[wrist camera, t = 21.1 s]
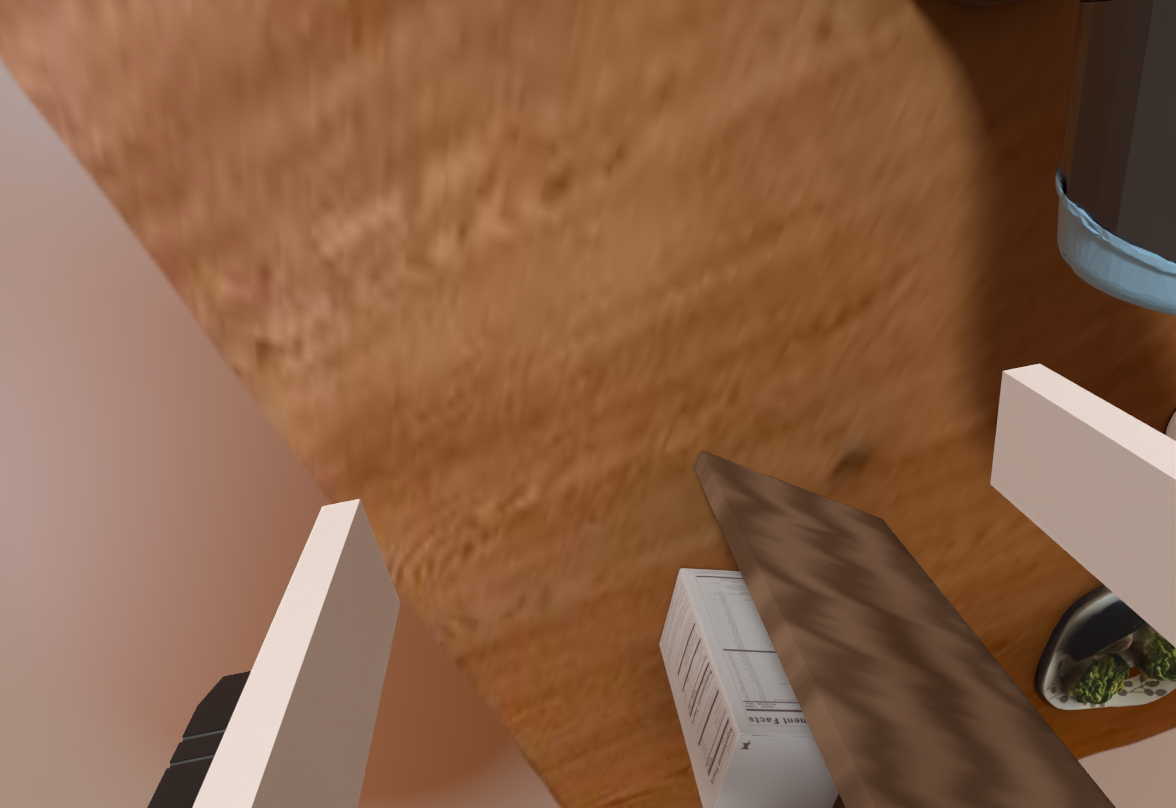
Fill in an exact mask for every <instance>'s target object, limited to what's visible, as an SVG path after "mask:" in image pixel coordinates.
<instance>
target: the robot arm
mask: <svg viewBox="0 0 1176 808" xmlns="http://www.w3.org/2000/svg"><path fill="white" fill-rule="evenodd" d="M950 1H953V2H956V3H960V4H965V5H974V6H985V5H996V4H1004V3H1011V2H1018V1H1022V0H950ZM1055 186H1056V191H1057V194H1058V196H1059V209H1058V227H1057V243H1058V247H1059V251H1060V253H1061V256H1062V257H1063V259H1064V260H1065V261H1066V262H1067V263H1068V264H1069V265H1070V266H1071V267H1072V270H1073V272H1074V273H1075V274H1076V275H1077V276H1078V277H1080V278H1081V279H1082V280H1084V281H1085V282H1087V283H1088V284H1089V285H1091V286H1093V287H1094V288H1096V289H1098V290H1100V291H1102V292H1104V293H1106V294H1108V295H1110V296H1112V297H1115V298H1117V299H1120V300H1122V301H1125V302H1128V303H1131V304H1134V305H1137V306H1140V307H1143V308H1147V309H1151V310H1154V311H1158V312H1161V313H1166V314H1170V315H1175V316H1176V0H1080V5H1079V14H1078V22H1077V31H1076V39H1075V48H1074V56H1073V65H1072V73H1071V82H1070V90H1069V99H1068V107H1067V116H1066V124H1065V133H1064V141H1063V150H1062V159H1061V165H1060V167H1059V168H1058V169H1057V171H1056V178H1055ZM990 484H991V485H992V486H993V487H994V488H995V489H996V490H997V491H999V492H1000V493H1001V494H1002V495H1003V496H1004V497H1005V498H1007V499H1008V500H1009V501H1010V502H1011V503H1012V504H1013V505H1014V506H1016V507H1017V508H1018V509H1019V510H1020V511H1021V512H1022V513H1024V514H1025V515H1026V516H1027V517H1028V518H1029V519H1030V520H1031V521H1033V522H1034V523H1035V524H1036V525H1037V526H1038V527H1039V528H1041V529H1042V530H1043V531H1044V532H1045V533H1046V534H1047V535H1048V536H1050V537H1051V538H1052V539H1053V540H1054V541H1055V542H1056V543H1058V544H1059V545H1060V546H1061V547H1062V548H1063V549H1064V550H1065V551H1067V552H1068V553H1069V554H1070V555H1071V556H1072V557H1073V558H1075V559H1076V560H1077V561H1078V562H1079V563H1080V564H1081V565H1082V566H1084V567H1085V568H1086V569H1087V570H1088V571H1089V572H1090V573H1092V574H1093V575H1094V576H1095V577H1096V578H1097V579H1098V580H1099V581H1101V582H1102V583H1103V584H1104V585H1105V586H1106V587H1107V588H1109V589H1110V590H1111V591H1112V592H1113V593H1114V594H1115V595H1116V596H1118V597H1119V598H1120V599H1121V600H1122V601H1123V602H1124V603H1126V604H1127V605H1128V606H1129V607H1130V608H1131V609H1132V610H1133V611H1135V612H1136V613H1137V614H1138V615H1139V616H1140V617H1141V618H1143V619H1144V620H1145V621H1146V622H1147V623H1148V624H1149V625H1150V626H1152V627H1153V628H1154V629H1155V630H1156V631H1157V632H1158V633H1159V634H1161V635H1162V636H1163V637H1164V638H1165V639H1166V640H1167V641H1169V642H1170V643H1171V644H1172V645H1173V646H1174V647H1175V648H1176V441H1175V440H1173V439H1171V438H1169V437H1168V436H1166V435H1164V434H1162V433H1161V432H1159V431H1157V430H1155V429H1154V428H1152V427H1150V426H1148V425H1147V424H1145V423H1143V422H1141V421H1140V420H1138V419H1136V418H1134V417H1133V416H1131V415H1129V414H1127V413H1126V412H1124V411H1122V410H1120V409H1119V408H1117V407H1115V406H1113V405H1112V404H1110V403H1108V402H1106V401H1105V400H1103V399H1101V398H1099V397H1098V396H1096V395H1094V394H1092V393H1091V392H1089V391H1087V390H1085V389H1084V388H1082V387H1080V386H1078V385H1077V384H1075V383H1073V382H1071V381H1070V380H1068V379H1066V378H1064V377H1063V376H1061V375H1059V374H1057V373H1055V372H1054V371H1052V370H1050V369H1048V368H1047V367H1045V366H1043V365H1041V364H1035V365H1030V366H1025V367H1020V368H1015V369H1010V370H1005V371H1003V373H1002V382H1001V391H1000V400H999V410H998V419H997V428H996V437H995V447H994V456H993V465H992V474H991V483H990ZM399 607H400V600H399V598H398V595H397V593H396V590H395V587H394V585H393V582H392V580H391V577H390V575H389V572H388V569H387V567H386V564H385V562H384V559H383V556H382V554H381V551H380V549H379V546H378V544H377V541H376V538H375V536H374V533H373V531H372V528H371V525H370V523H369V520H368V518H367V515H366V513H365V510H364V507H363V505H362V502H361V500H360V499H357V500H352V501H347V502H342V503H337V504H332V505H327V506H322V508H321V511H320V513H319V515H318V518H317V520H316V522H315V525H314V527H313V529H312V532H311V534H310V536H309V539H308V541H307V543H306V545H305V548H304V550H303V552H302V555H301V557H300V560H299V562H298V564H297V567H296V569H295V571H294V573H293V576H292V578H291V580H290V582H289V585H288V587H287V589H286V592H285V594H284V596H283V599H282V601H281V603H280V606H279V608H278V610H277V613H276V615H275V617H274V620H273V622H272V624H271V626H270V629H269V631H268V633H267V636H266V638H265V640H264V643H263V645H262V647H261V650H260V652H259V654H258V657H257V659H256V661H255V664H254V666H253V668H252V671H249V672H244V673H239V674H234V675H229V676H224V677H223V678H222V679H221V680H220V681H219V682H218V683H217V684H216V685H215V687H214V688H213V689H212V690H211V691H210V692H209V693H208V695H207V696H206V697H205V698H204V699H203V700H202V701H201V703H200V704H199V705H198V706H197V708H196V710H195V712H194V714H193V716H192V718H191V720H190V722H189V724H188V726H187V728H186V730H185V733H184V734H183V742H181V743H179V745H178V747H177V749H176V751H175V753H174V755H173V757H172V759H171V761H170V768H168V769H166V771H165V773H164V775H163V777H162V779H161V781H160V783H159V785H158V787H157V789H156V791H155V793H154V795H153V797H152V799H151V801H150V804H149V806H148V808H357V807H358V802H359V798H360V793H361V788H362V783H363V779H364V774H365V768H366V764H367V759H368V755H369V750H370V745H371V740H372V736H373V731H374V726H375V721H376V716H377V711H378V707H379V702H380V697H381V693H382V688H383V683H384V678H385V674H386V669H387V664H388V659H389V654H390V650H391V645H392V640H393V635H394V631H395V625H396V621H397V616H398V612H399Z"/></svg>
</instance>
